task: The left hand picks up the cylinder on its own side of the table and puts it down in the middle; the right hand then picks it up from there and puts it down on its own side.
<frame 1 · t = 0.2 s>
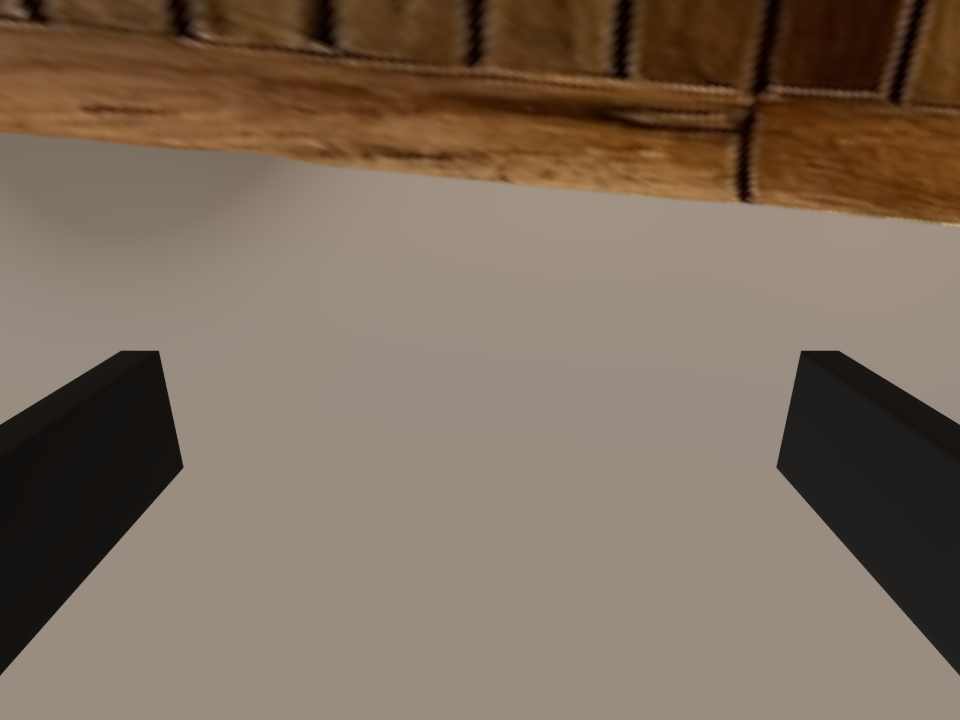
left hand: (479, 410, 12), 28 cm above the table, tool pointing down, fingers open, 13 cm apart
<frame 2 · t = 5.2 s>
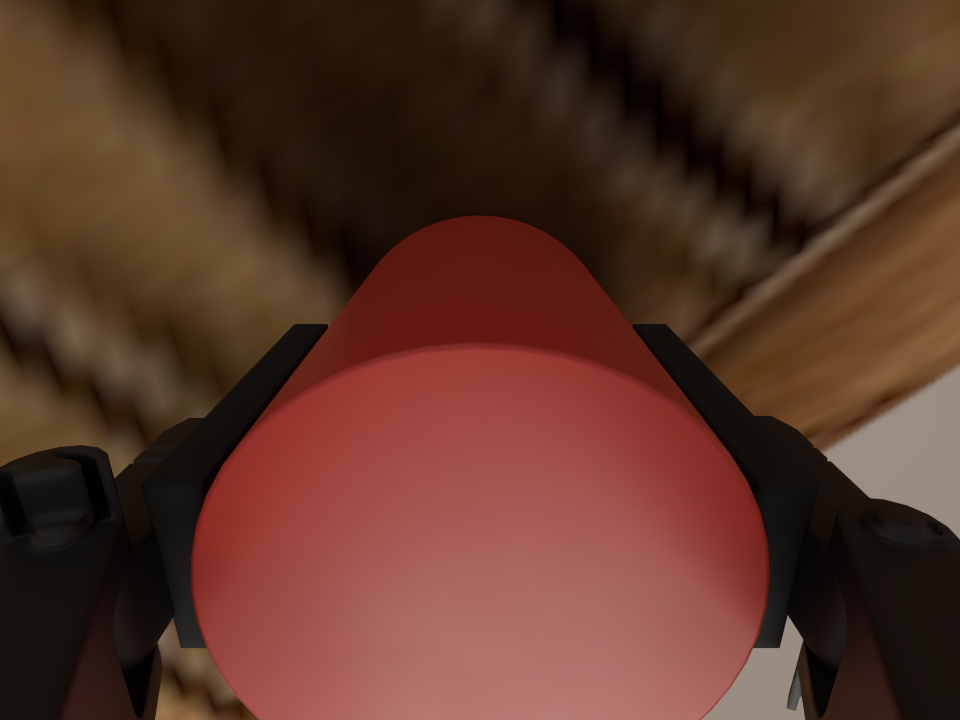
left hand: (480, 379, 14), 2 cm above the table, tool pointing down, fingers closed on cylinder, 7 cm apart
cylinder: (480, 345, 16), on the table, touching left hand
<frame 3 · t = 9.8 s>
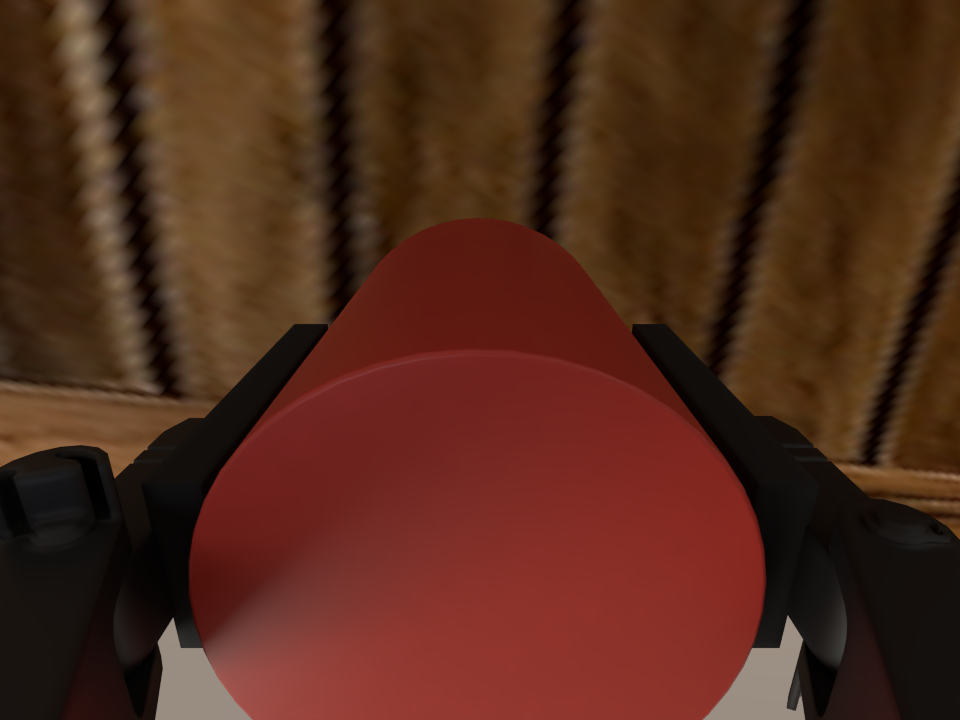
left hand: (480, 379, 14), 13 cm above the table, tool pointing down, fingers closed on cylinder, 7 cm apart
cylinder: (478, 347, 16), point 10 cm above the table, touching left hand
when the left hand's fingers open (4 cm above the table, at t = 14.4 s): cylinder drops 1 cm, on the table.
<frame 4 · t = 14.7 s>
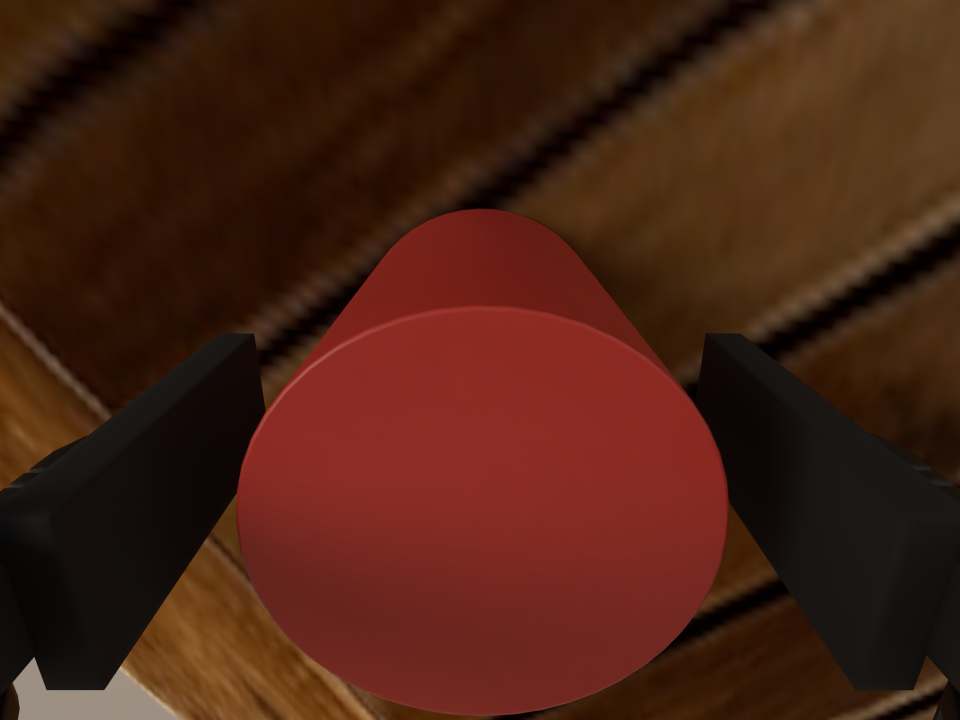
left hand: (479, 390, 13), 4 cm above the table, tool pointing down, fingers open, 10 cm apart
cylinder: (481, 330, 17), on the table
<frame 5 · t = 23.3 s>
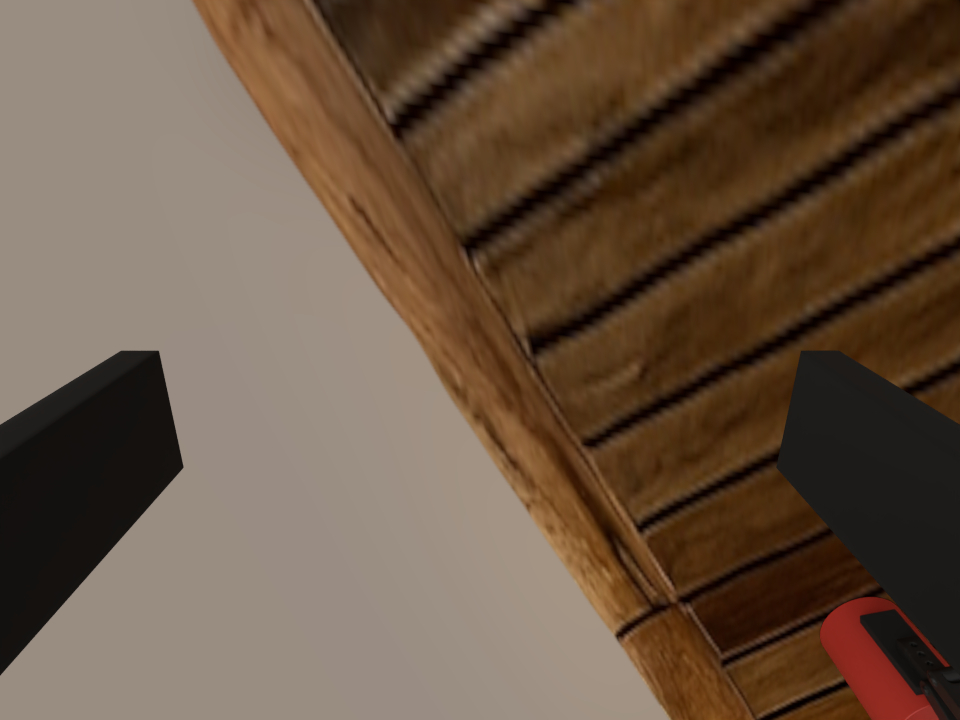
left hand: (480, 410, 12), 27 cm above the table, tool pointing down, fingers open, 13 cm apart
cylinder: (861, 628, 50), on the table, touching right hand
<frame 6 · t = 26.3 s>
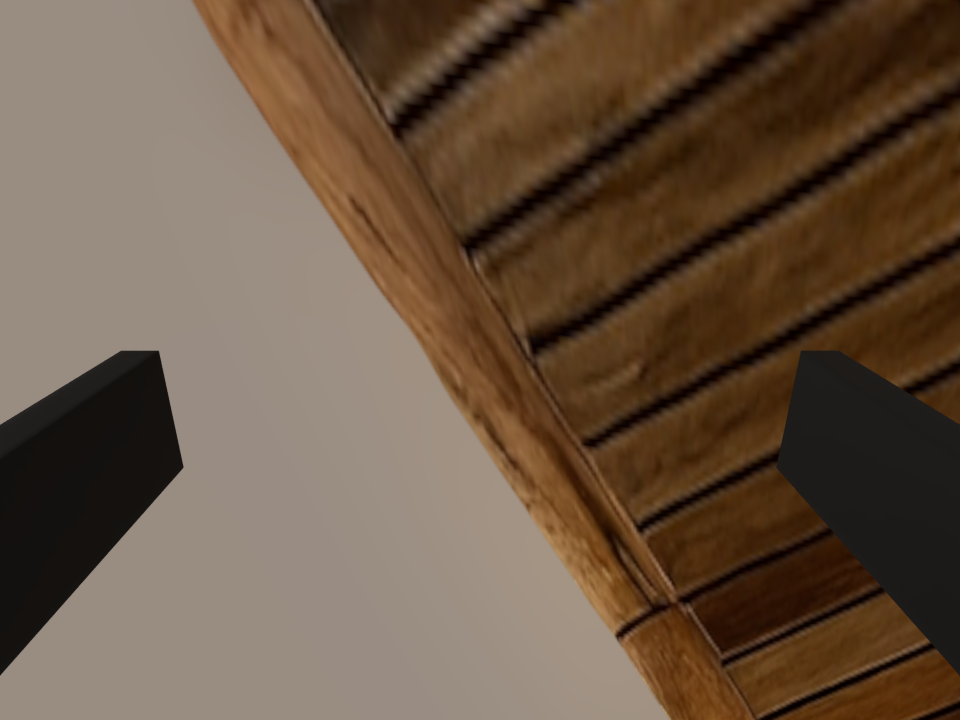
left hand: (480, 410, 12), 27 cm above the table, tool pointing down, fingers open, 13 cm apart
when the right hand's fingers open (4 cm above the table, at t = 29.2 s): cylinder drops 1 cm, on the table.
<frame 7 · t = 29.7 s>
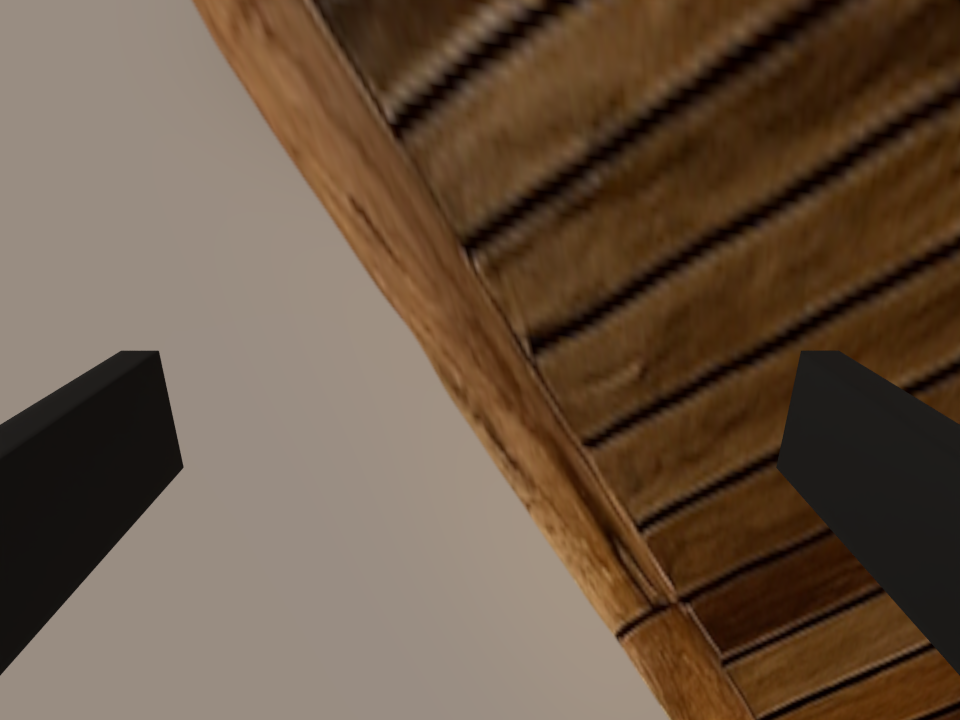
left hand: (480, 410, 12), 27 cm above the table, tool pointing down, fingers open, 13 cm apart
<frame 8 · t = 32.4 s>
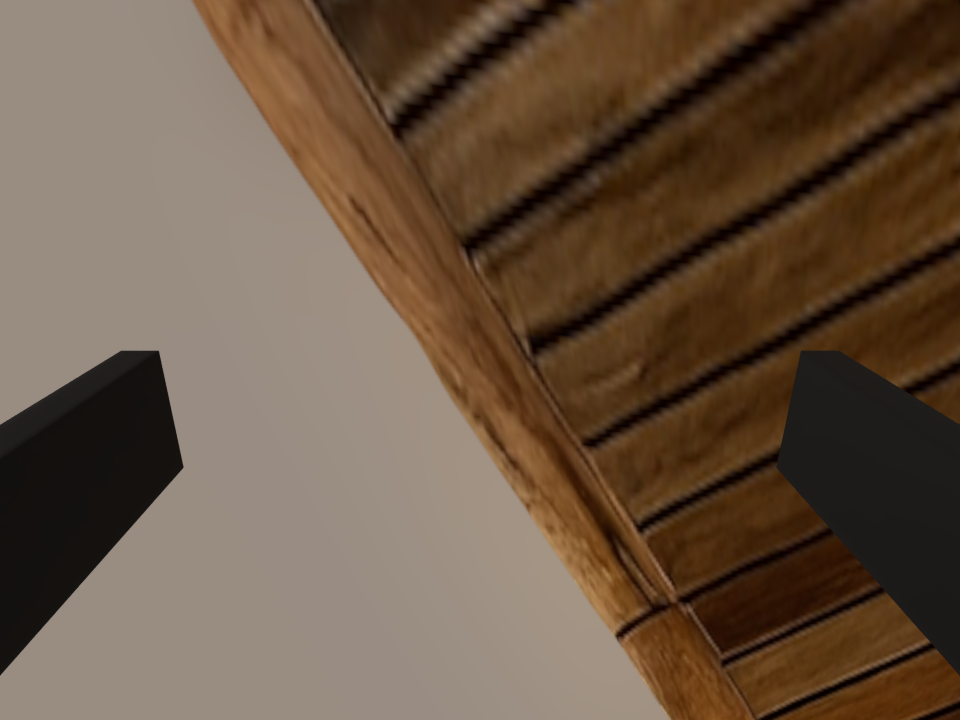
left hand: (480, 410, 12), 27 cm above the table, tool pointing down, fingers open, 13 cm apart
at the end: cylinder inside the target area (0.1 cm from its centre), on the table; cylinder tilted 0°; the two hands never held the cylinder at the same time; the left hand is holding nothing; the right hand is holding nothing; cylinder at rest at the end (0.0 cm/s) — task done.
